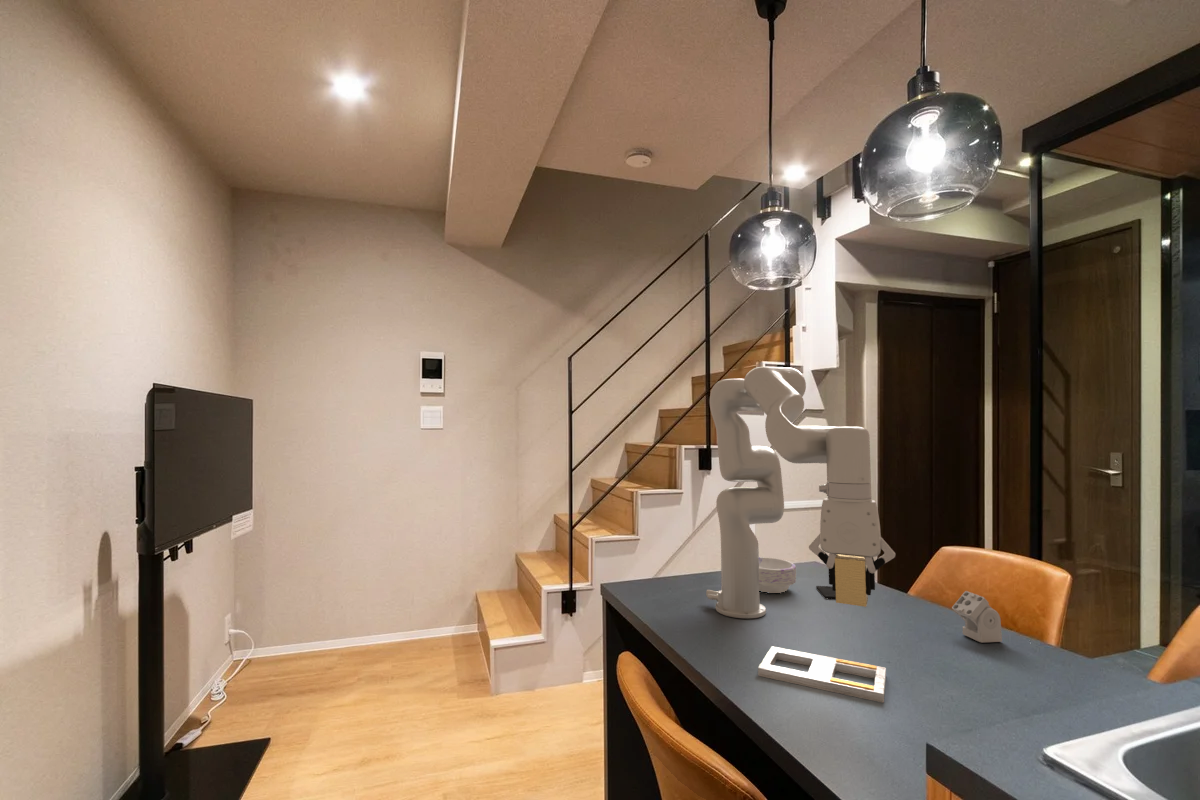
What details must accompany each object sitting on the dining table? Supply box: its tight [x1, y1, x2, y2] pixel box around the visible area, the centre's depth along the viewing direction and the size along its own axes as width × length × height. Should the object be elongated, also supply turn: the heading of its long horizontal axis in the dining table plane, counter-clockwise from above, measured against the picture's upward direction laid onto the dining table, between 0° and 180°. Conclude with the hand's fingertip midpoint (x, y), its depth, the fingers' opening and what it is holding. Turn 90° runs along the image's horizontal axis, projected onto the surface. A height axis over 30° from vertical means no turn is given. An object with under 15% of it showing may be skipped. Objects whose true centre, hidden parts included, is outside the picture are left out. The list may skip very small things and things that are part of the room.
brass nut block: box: [835, 554, 869, 608], centre depth 101 cm, size 5×5×8 cm
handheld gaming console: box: [815, 585, 836, 600], centre depth 155 cm, size 12×7×10 cm
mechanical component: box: [951, 590, 1003, 643], centre depth 121 cm, size 5×8×10 cm
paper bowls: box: [759, 556, 797, 594], centre depth 160 cm, size 15×15×8 cm
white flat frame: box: [757, 646, 887, 704], centre depth 102 cm, size 21×12×2 cm, turn 61°
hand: (851, 590), depth 101 cm, fingers closed on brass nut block, 5 cm apart
